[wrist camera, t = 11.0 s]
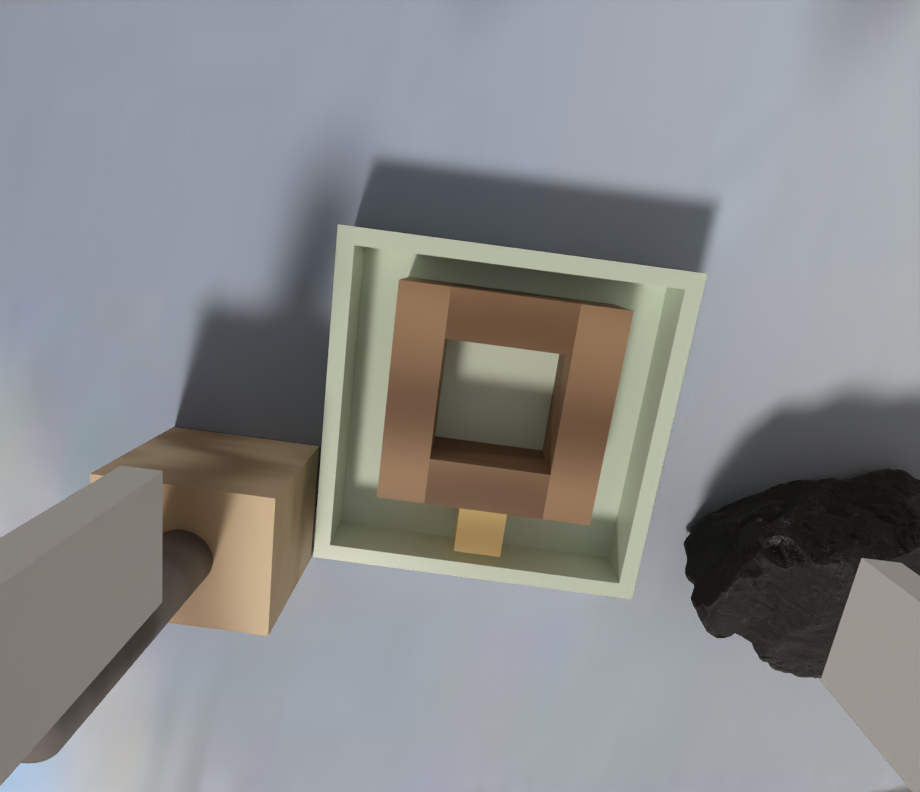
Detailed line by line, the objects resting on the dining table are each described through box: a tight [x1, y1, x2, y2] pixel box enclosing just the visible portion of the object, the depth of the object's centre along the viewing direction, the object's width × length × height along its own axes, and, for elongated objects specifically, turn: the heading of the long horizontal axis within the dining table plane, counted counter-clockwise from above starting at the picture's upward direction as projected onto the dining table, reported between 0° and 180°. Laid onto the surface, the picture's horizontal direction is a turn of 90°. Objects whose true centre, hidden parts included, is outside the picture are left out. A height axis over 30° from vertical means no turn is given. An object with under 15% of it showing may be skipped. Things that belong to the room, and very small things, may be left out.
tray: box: [313, 224, 707, 599], centre depth 25 cm, size 14×14×3 cm
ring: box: [377, 277, 634, 557], centre depth 24 cm, size 11×9×3 cm
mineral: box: [684, 469, 920, 678], centre depth 25 cm, size 10×9×6 cm
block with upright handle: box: [21, 427, 319, 763], centre depth 21 cm, size 7×6×14 cm
